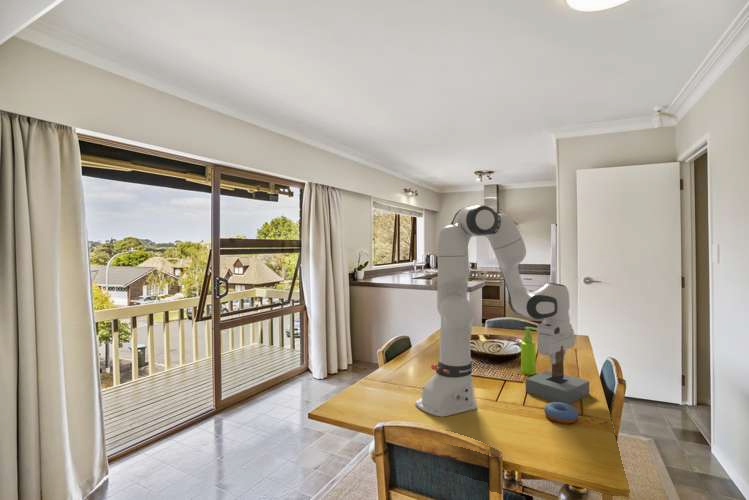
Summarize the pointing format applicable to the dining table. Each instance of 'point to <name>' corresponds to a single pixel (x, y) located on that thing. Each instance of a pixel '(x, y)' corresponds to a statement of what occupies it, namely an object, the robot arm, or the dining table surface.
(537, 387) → the socket block
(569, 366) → the dining table surface
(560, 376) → the peg
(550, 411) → the doughnut
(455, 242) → the robot arm
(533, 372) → the soap dispenser
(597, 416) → the dining table surface
